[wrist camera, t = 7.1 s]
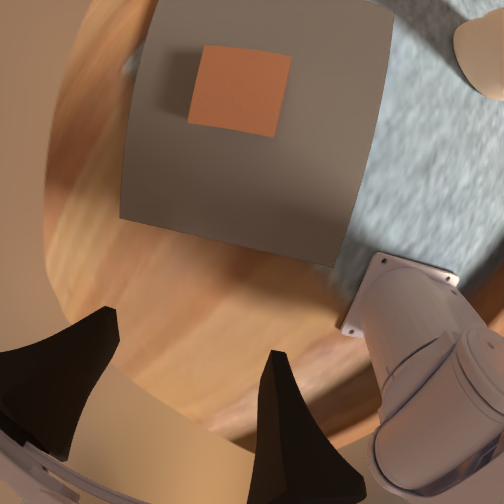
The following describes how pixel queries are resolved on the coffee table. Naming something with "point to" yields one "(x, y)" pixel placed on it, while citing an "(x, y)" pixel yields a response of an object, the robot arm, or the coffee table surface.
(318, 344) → the coffee table surface
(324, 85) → the base
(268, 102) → the orange rectangular block
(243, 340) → the coffee table surface
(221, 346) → the coffee table surface
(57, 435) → the robot arm
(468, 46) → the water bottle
